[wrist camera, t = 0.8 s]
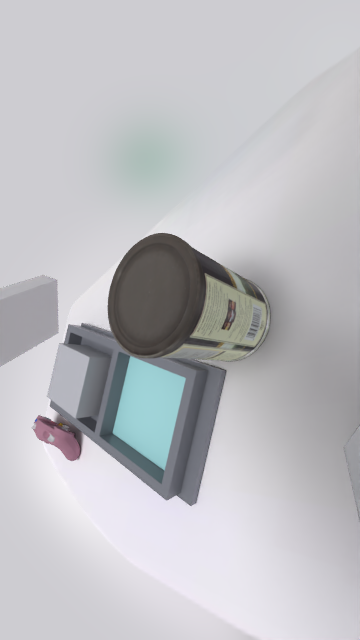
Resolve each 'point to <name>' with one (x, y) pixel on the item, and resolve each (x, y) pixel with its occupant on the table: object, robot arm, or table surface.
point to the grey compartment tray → (139, 408)
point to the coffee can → (183, 304)
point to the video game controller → (57, 436)
